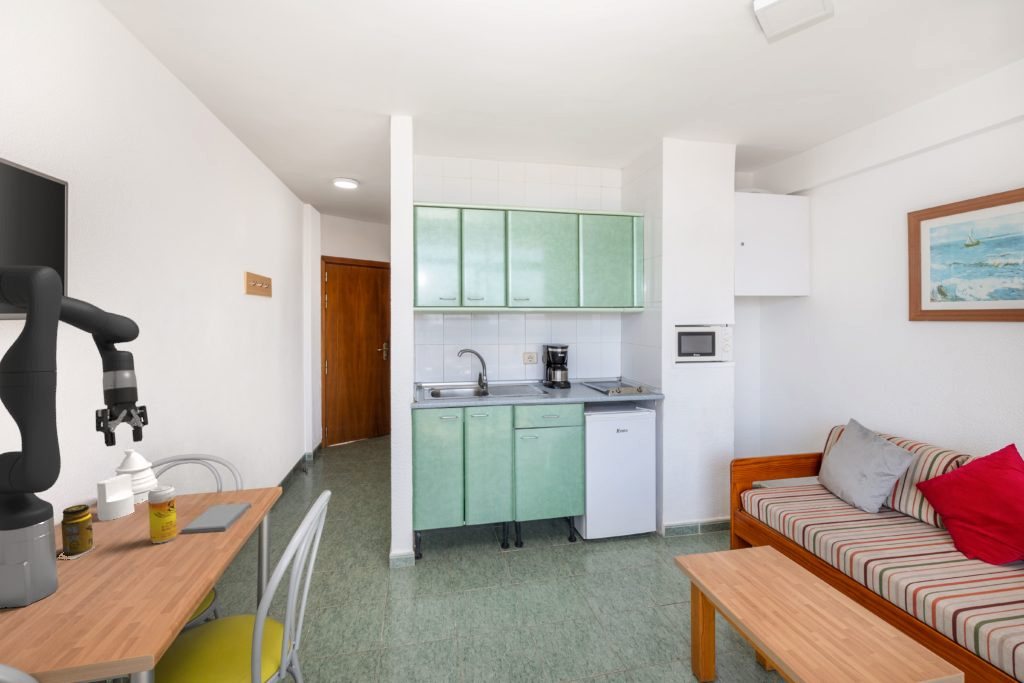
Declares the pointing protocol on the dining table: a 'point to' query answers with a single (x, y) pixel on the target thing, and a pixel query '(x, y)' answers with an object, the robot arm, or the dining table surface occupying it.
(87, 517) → the condiment
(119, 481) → the base with upright slab
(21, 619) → the dining table surface
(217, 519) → the grey flat slab
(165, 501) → the beer can
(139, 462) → the honey pot
